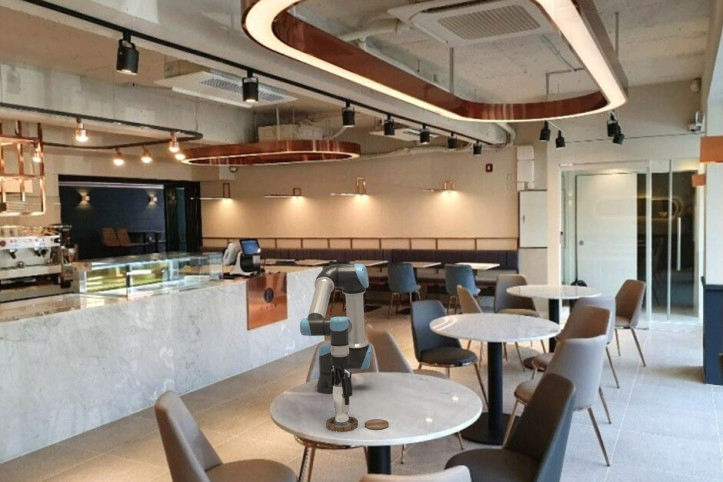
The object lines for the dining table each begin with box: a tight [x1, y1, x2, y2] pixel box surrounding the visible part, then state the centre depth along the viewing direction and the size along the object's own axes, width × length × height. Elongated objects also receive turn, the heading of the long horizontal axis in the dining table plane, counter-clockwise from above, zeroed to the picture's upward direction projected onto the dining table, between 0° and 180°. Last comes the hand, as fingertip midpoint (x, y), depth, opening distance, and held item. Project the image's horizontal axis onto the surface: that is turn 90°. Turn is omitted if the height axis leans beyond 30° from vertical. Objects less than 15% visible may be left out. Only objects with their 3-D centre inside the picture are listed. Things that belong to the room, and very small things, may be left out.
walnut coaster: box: [364, 418, 390, 431], centre depth 238 cm, size 10×10×1 cm
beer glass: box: [332, 383, 351, 424], centre depth 238 cm, size 7×7×15 cm
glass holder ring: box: [325, 416, 359, 433], centre depth 238 cm, size 13×13×2 cm
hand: (341, 409), depth 238 cm, fingers closed on beer glass, 7 cm apart
